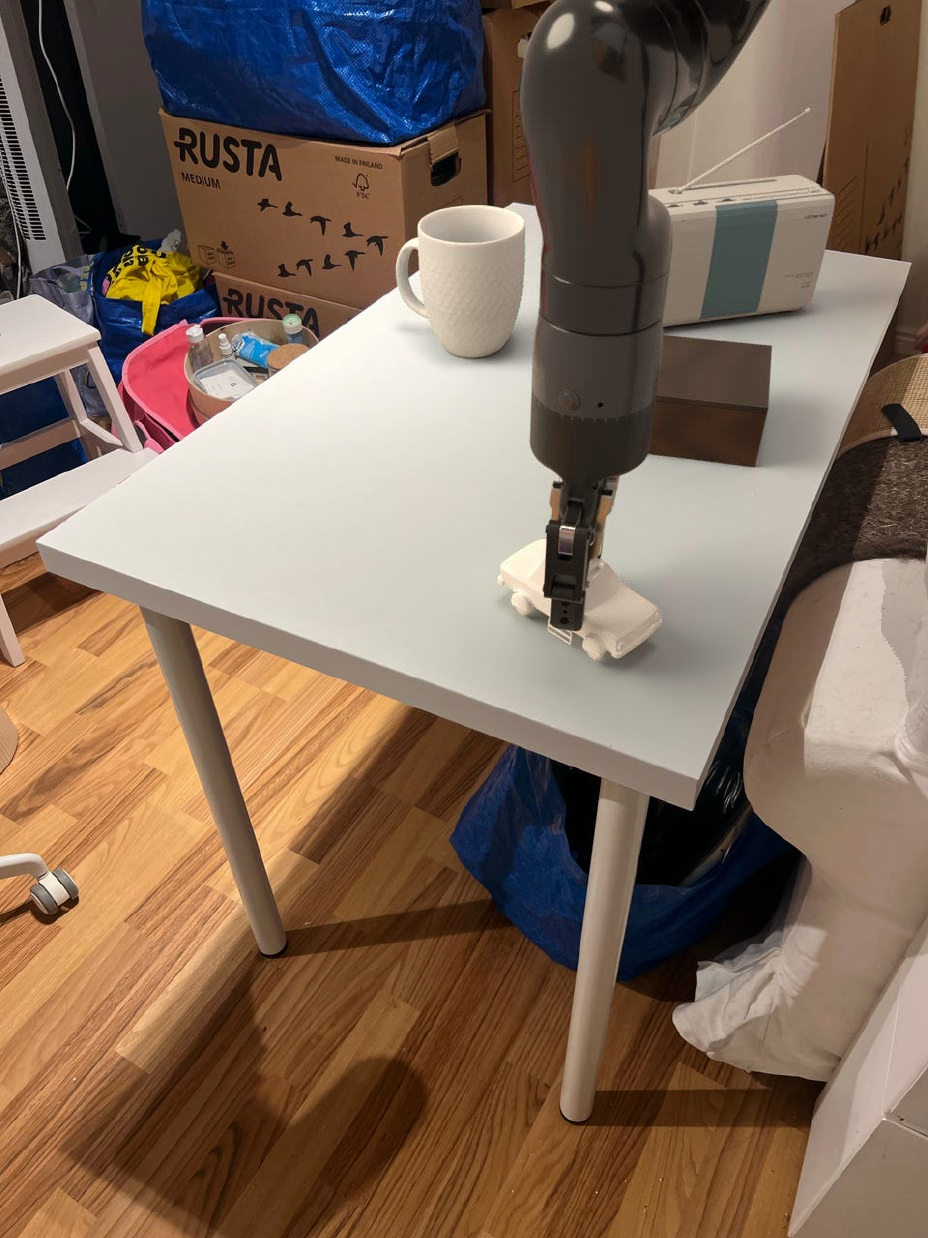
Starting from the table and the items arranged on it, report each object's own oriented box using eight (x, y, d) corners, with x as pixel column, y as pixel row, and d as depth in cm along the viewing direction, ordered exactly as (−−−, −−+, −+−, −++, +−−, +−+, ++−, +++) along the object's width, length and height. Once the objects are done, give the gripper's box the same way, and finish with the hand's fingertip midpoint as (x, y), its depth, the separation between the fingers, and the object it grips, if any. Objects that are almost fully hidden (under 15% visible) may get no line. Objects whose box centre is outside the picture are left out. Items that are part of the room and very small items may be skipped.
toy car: (612, 682, 63) (622, 609, 58) (489, 601, 69) (489, 530, 65) (665, 640, 66) (678, 567, 61) (542, 566, 72) (545, 495, 68)
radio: (641, 338, 101) (664, 141, 88) (615, 307, 107) (632, 119, 94) (812, 315, 105) (860, 122, 91) (778, 287, 111) (818, 102, 97)
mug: (375, 346, 101) (364, 225, 92) (427, 309, 108) (421, 193, 99) (493, 376, 96) (493, 250, 87) (540, 334, 103) (544, 214, 94)
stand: (759, 401, 91) (772, 345, 87) (754, 467, 82) (768, 407, 78) (618, 386, 94) (624, 330, 89) (600, 447, 85) (605, 389, 81)
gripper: (641, 453, 49) (613, 669, 60) (671, 336, 59) (642, 539, 70) (505, 435, 50) (502, 649, 61) (556, 324, 60) (546, 525, 72)
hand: (576, 590), depth 66 cm, fingers closed on toy car, 7 cm apart
